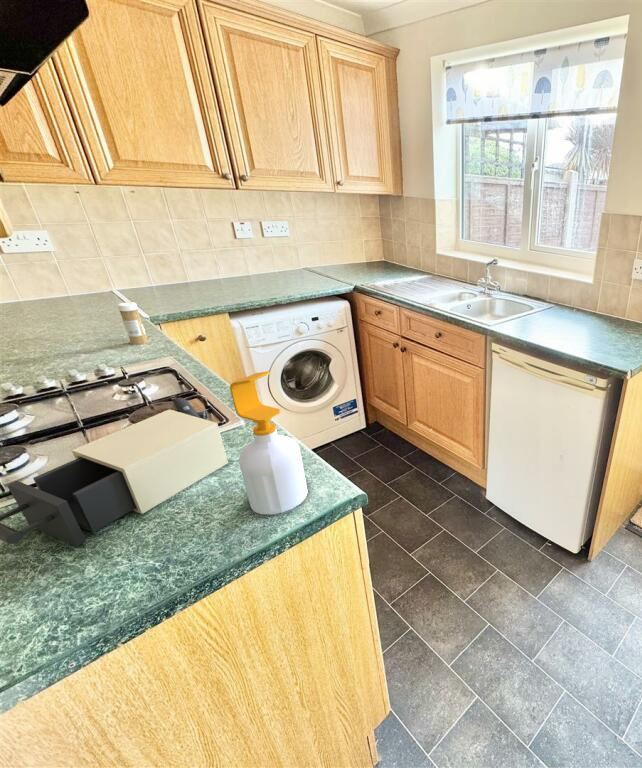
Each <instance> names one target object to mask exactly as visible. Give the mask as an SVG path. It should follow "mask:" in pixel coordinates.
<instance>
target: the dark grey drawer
mask: <svg viewBox="0 0 642 768" xmlns="http://www.w3.org/2000/svg"><path fill="white" fill-rule="evenodd" d="M32 478H33V481H34V483H35V485H36V487H37V488H36V487H34V486H31V485H29V484H27V483H24V482H22V481H19V480H15V481H13V482H11V483H9V484H7V485H6V486H7V488H8V490H9V492H10V493H11V495H12V498H13V499H14V501H15V502H16V504H17V507H14V508H13V509H10V510H8V511H6V512H4V513H2V514H0V541H1V542H4V543H6V544H9V545H14V544H17V543H19V542H21V540H22V539H23V537H24V535H26V534H28V533H30V532H32V531H34V530H39V531H41V532H44V533H46V534H48V535H50V536H52V537H54V538H57V539H59V540H61V541H63V542H64V543H68V544H70V545H71V546H75V547H76V548H77V547H78V548H79V546H81V545H83V544H85V543H86V542H87V539H86V537H85V535H84V533H83V530H82V529H85V530H87V531H90V532H91V533H95V532H97V531H98V530H100V529H102V528H104V527H105V526H107V525H109V524H111V523H112V522H114V521H116V520H118V519H120V518H121V517H123V516H124V515H126V514H128V513H130V512H131V511H133V509H135V508H137V507H136V504H135V502H134V500H133V497H132V495H131V492H130V490H129V487H128V485H127V483H126V480H125V478H124V475H123V473H122V472H121V471H119V470H116V469H113V468H110V467H107V466H105V465H102V464H99V463H96V462H94V461H91V460H88V459H85V458H82V457H80V458H78V459H75V458H74V459H73V460H71V461H69V462H66V463H64V464H61V465H59V466H57V467H54V468H51V469H50V470H47V471H45V472H43V473H41V474H38V475H37V476H34V477H32ZM20 512H21V513H22V515H23V517H24V518H25V521H26V522H27V524H28V525H27V526H25V527H23V528H22V529H21V528H20V529H19V530H17V529H15V528H12V527H11V526H9V525H6V524H4V523H1V522H2V521H3V520H6V519H8V518H10V517H12V516H14V515H16V514H19V513H20ZM81 528H82V529H81Z"/></svg>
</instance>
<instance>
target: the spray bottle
mask: <svg viewBox="0 0 642 768" xmlns="http://www.w3.org/2000/svg"><path fill="white" fill-rule="evenodd" d="M270 374H271V373H270V371H269V370H268V371H267V370H266V371H260V372H255V373H252V374H250V375H248V376H245V377H243V378H241V379H238V380H236V381H233V382H232V383H230V385H229V391H230V394H231V399H232V402H233V403H232V404H233V407H234V411H235V413H236V415H238V417H240V418H242V419H246V420H249V421H252V422H253V423H254V424H257V425H255V426H254V427H253V428H252V432H253V437H254V439H253V440H252V441H250V442H249V443H248V444H247V445H246V446H244V447H243V449H242V450H241V452H240V453H239V457H238V464H239V469H240V473H241V476H242V480H243V483H244V487H245V491H246V495H247V499H248V503H249V506H250V509H252V511H253V512H254V513H257V514H261V515H266V516H269V515H270V516H272V515H278V514H282V513H283V514H284V513H285V512H288V511H291V510H293V509H295V508H296V507H298V506H299V505H300V504H302V502H303V501H304V500H305V499H306V498H307V496H308V486H307V480H306V475H305V469H304V465H303V464H304V463H303V459H302V452H301V449H300V444H298V442H297V441H296V440H295V439H293V438H292V437H289V436H287V435H283V434H278V429H277V426H276V424H275V423H274V422H270V421H272V419H273V418H274V417H276V416H278V415H279V414H281V409H280V408H278V407H273V406H269V405H266V404H262V402H261V401H260V399H259V394H258V390H257V386H256V381H258V380H260V379H261V378H264V377H266V376H268V375H270Z"/></svg>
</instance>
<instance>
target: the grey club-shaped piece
mask: <svg viewBox="0 0 642 768" xmlns="http://www.w3.org/2000/svg"><path fill="white" fill-rule="evenodd" d="M173 405H174V407H175V408H176V409H177V412H181V413H184V414H187V415H191V416H194V417H198V418H201V419H205V420H208V418H209V415H210V414H209V413H208V411H207V410H205V411H204V410H202V411H196V410H195V408H194V407H193V406H192V404H191V403H190V402H189V401H188V400H187V399H186V398H184V397H177V398H175V399H174V400H173Z"/></svg>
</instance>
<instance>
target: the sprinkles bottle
mask: <svg viewBox="0 0 642 768" xmlns="http://www.w3.org/2000/svg"><path fill="white" fill-rule="evenodd" d="M116 305H117V309H118V311H119V313H120V316H121V319H122V323H123V325H124V328H125V331H126V333H127V336H128V339H129V342H130V345H131V346H140V345H147V344H149V340H148V337H147V334H146V329H145V327H144V325H143V322H142V320H141V316H140V313H139V309H138V305H137V303H136V302H132V301H128V302H120V303H118V304H116Z"/></svg>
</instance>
